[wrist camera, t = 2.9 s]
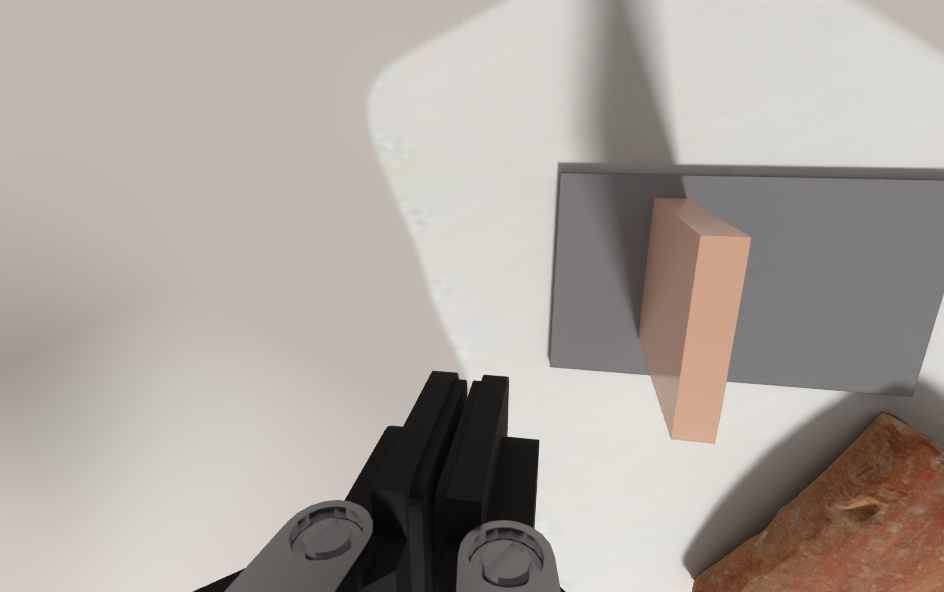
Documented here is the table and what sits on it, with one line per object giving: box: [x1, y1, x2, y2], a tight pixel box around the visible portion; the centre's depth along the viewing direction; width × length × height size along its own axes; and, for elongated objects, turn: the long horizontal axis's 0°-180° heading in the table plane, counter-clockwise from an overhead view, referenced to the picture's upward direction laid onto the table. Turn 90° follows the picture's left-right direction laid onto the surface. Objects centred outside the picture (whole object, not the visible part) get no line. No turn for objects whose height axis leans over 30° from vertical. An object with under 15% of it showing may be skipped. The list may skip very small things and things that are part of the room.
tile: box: [638, 197, 751, 444], centre depth 20 cm, size 2×7×9 cm, turn 0°
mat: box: [550, 173, 944, 397], centre depth 24 cm, size 17×10×1 cm, turn 90°
